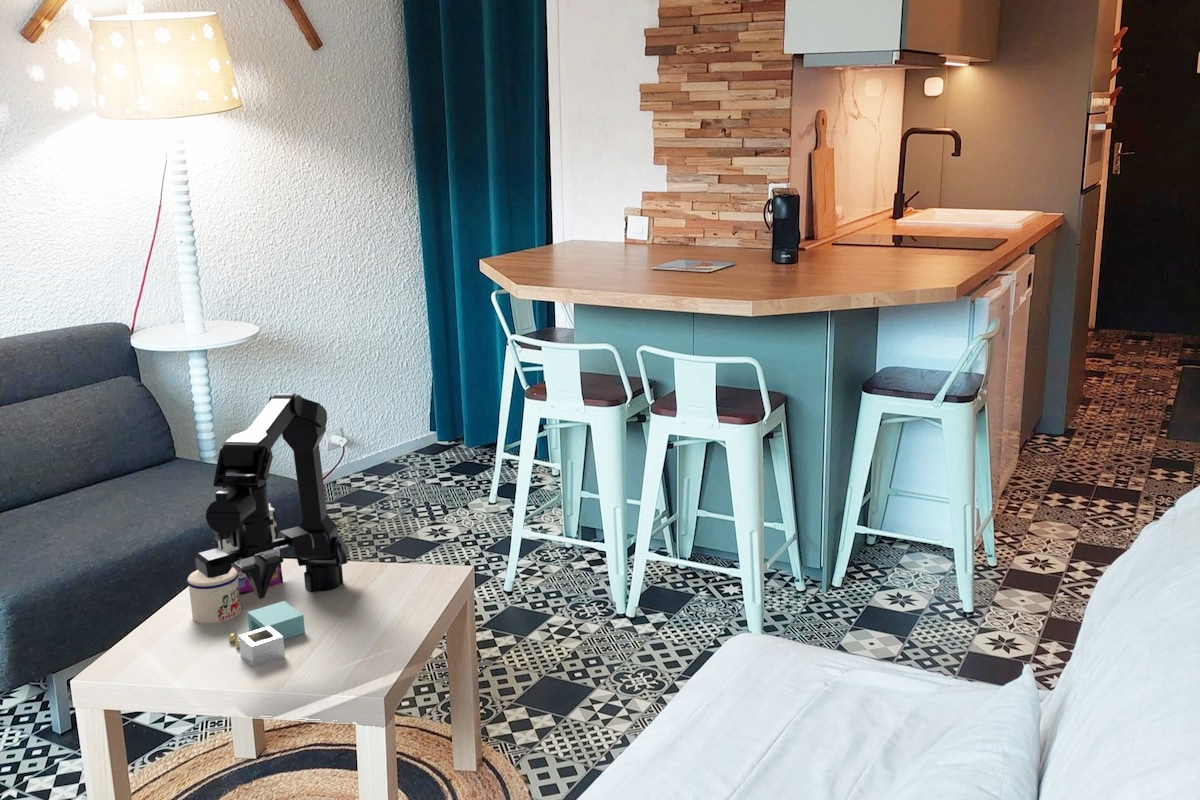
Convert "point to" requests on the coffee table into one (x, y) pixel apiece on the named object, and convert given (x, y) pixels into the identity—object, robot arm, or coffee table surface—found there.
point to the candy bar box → (242, 578)
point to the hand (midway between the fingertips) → (260, 597)
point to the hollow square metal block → (261, 646)
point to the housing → (278, 619)
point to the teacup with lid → (214, 596)
